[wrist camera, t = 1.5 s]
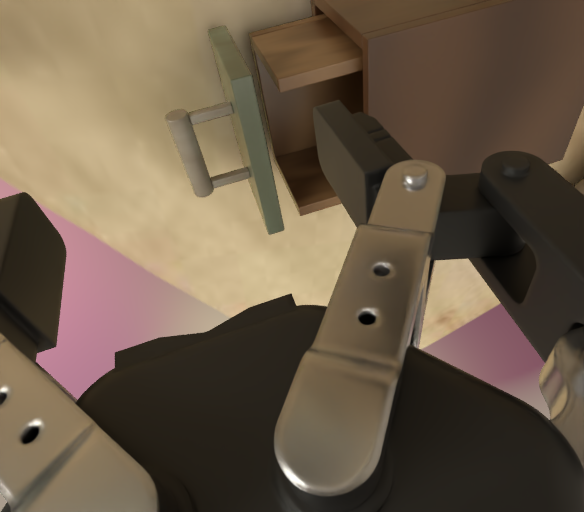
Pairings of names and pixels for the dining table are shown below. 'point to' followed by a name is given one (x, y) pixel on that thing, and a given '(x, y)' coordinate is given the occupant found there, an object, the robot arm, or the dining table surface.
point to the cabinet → (469, 74)
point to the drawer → (276, 111)
